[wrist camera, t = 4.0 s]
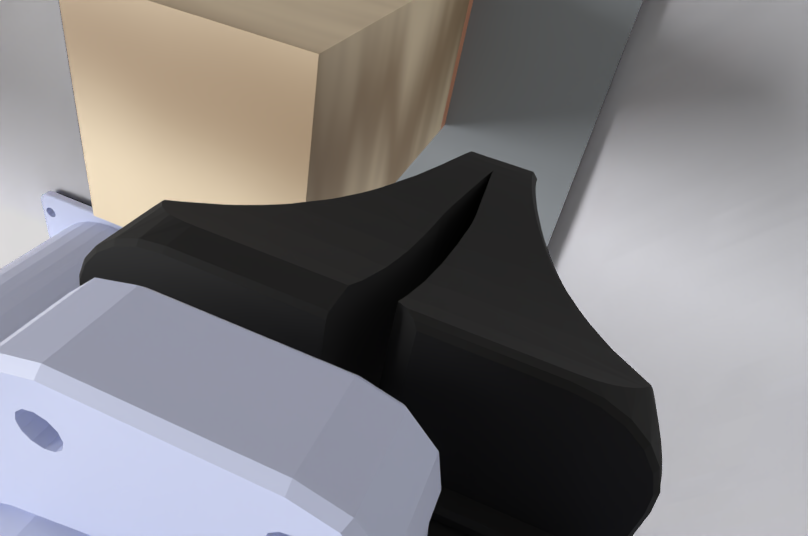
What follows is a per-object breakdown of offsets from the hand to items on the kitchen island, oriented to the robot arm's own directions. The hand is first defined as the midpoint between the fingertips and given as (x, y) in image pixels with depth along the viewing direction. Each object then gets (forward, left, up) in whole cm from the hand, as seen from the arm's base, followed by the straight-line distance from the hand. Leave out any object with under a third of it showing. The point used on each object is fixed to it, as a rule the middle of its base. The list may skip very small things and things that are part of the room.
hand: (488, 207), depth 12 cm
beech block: (0, +5, -8) cm, 10 cm away
